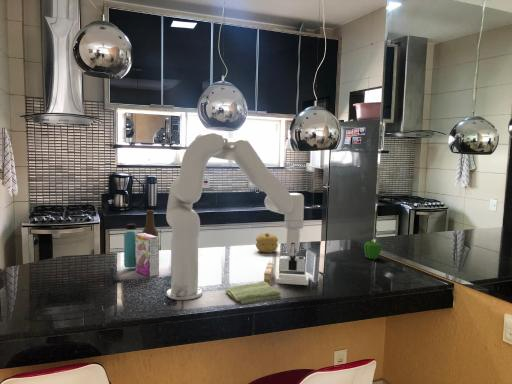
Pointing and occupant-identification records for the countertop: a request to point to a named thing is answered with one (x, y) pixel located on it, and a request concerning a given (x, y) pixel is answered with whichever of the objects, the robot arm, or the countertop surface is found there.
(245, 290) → the washcloth
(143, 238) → the candy bar box
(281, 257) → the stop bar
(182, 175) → the robot arm
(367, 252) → the bell pepper
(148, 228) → the beer bottle
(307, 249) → the countertop surface
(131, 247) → the beverage bottle
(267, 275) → the rail
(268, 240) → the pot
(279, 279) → the bracket
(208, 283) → the countertop surface
